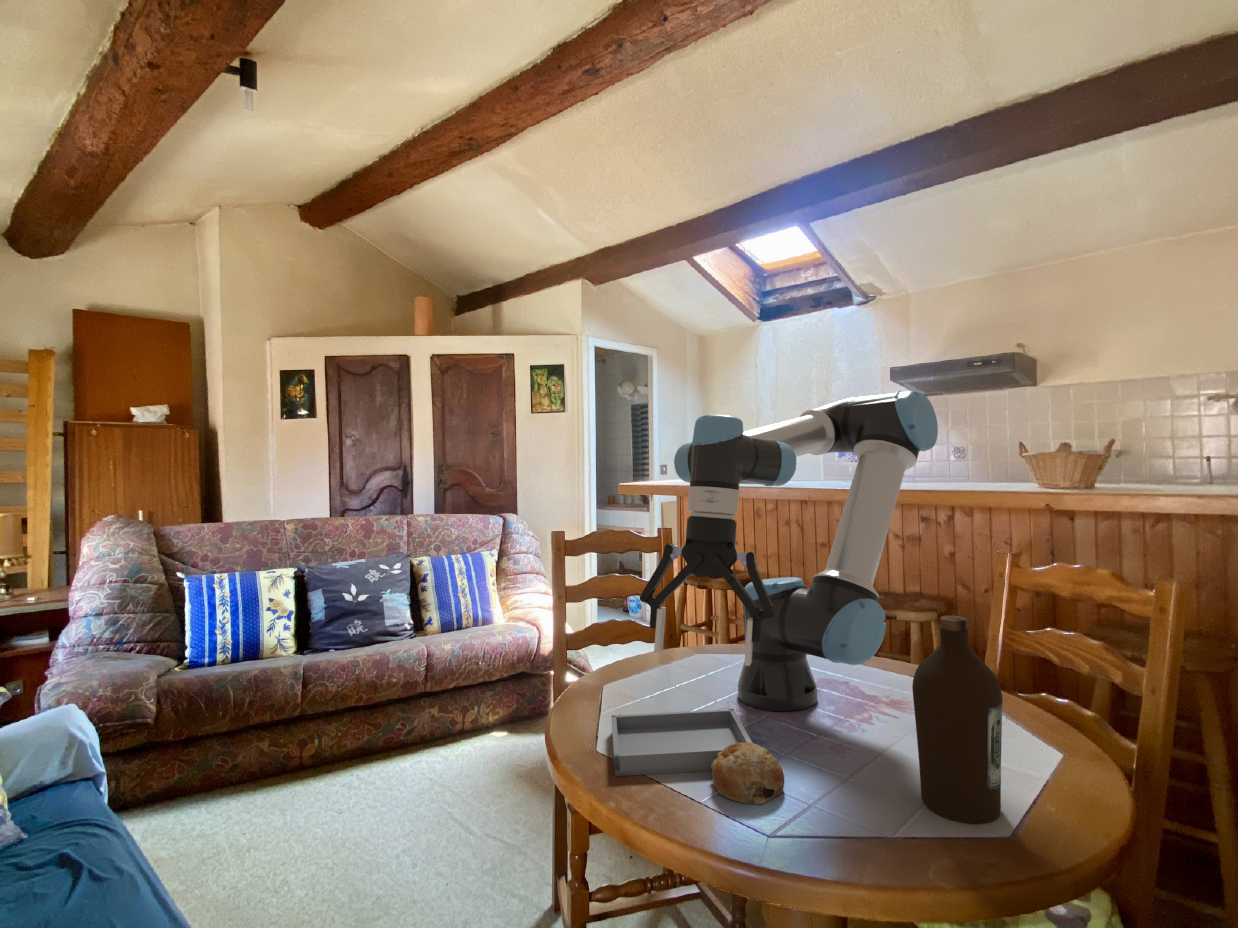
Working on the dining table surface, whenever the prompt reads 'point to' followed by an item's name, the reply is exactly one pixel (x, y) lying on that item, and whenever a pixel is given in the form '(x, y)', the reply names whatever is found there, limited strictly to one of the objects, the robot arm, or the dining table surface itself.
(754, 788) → the bread roll
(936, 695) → the olive oil
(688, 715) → the tray
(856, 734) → the dining table surface
